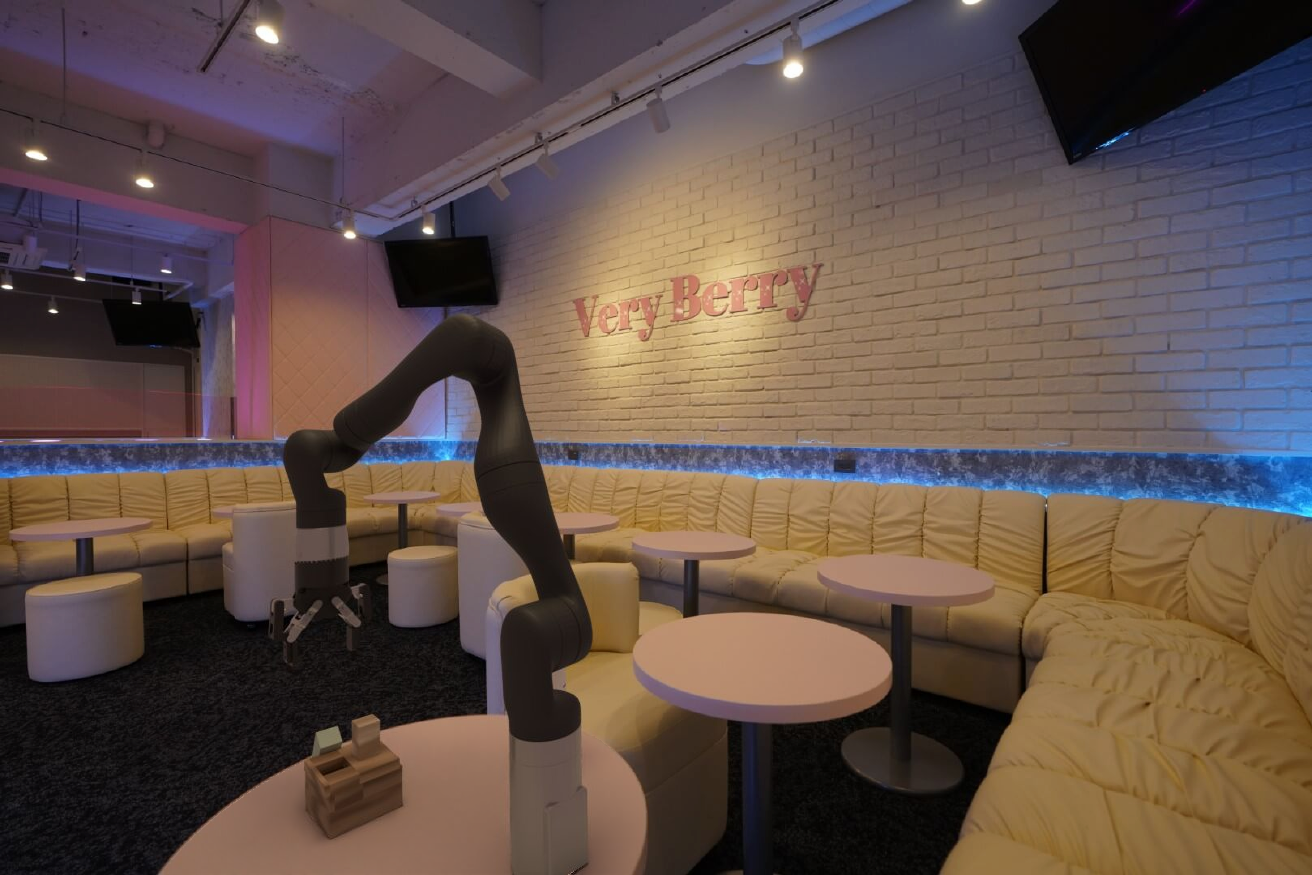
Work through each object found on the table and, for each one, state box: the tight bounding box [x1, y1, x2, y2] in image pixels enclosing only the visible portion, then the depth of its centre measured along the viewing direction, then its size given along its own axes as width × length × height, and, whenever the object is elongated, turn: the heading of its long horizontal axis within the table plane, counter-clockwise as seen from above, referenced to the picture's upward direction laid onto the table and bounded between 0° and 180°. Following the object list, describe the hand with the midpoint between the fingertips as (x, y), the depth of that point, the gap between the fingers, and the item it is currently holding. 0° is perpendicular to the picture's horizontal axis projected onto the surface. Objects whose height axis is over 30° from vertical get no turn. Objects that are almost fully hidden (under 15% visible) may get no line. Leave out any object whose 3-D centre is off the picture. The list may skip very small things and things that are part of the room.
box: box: [304, 763, 404, 840], centre depth 87 cm, size 10×10×6 cm
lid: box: [303, 713, 401, 798], centre depth 86 cm, size 10×10×6 cm
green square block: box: [311, 725, 343, 758], centre depth 91 cm, size 3×3×10 cm
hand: (323, 657), depth 92 cm, fingers open, 8 cm apart
